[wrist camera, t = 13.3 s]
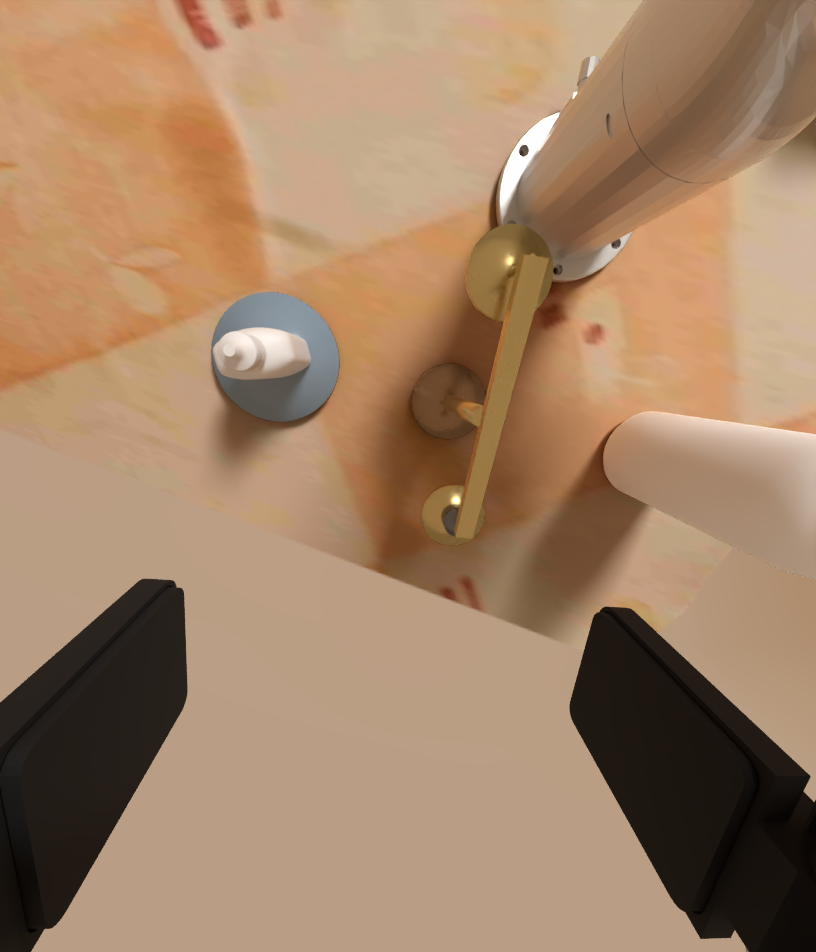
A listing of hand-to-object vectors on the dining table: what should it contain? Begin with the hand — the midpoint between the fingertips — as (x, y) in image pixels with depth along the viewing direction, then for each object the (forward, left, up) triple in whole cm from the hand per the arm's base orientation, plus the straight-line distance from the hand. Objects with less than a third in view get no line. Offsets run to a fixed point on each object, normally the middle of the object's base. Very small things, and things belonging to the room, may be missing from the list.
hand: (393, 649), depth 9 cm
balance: (-4, +6, -30) cm, 31 cm away
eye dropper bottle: (-6, -10, -29) cm, 31 cm away
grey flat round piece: (-6, -10, -30) cm, 32 cm away
